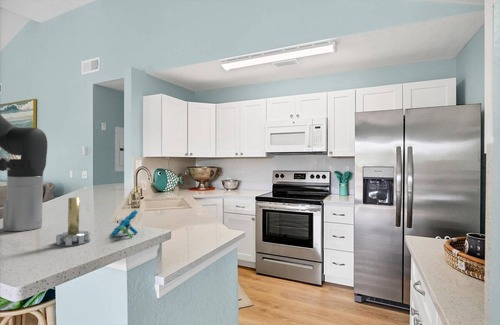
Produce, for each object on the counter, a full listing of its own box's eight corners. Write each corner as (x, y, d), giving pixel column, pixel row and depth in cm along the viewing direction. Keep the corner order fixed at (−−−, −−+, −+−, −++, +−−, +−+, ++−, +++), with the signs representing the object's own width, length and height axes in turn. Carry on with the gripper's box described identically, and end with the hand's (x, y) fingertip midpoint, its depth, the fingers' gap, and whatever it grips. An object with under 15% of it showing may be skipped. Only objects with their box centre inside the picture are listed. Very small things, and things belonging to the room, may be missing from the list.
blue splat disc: (113, 226, 90) (136, 204, 90) (127, 237, 91) (150, 216, 92) (104, 240, 79) (130, 215, 80) (120, 253, 80) (146, 228, 81)
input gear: (51, 246, 72) (52, 200, 72) (62, 238, 79) (62, 196, 79) (85, 244, 74) (86, 199, 74) (92, 236, 81) (93, 196, 81)
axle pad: (51, 247, 71) (51, 246, 71) (62, 239, 79) (62, 238, 79) (86, 245, 74) (86, 244, 74) (93, 237, 82) (93, 236, 82)
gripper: (-74, 146, 54) (31, 148, 65) (-63, 147, 64) (27, 149, 75) (-74, 184, 54) (31, 180, 65) (-62, 179, 64) (27, 176, 75)
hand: (29, 163), depth 70 cm, fingers open, 8 cm apart
